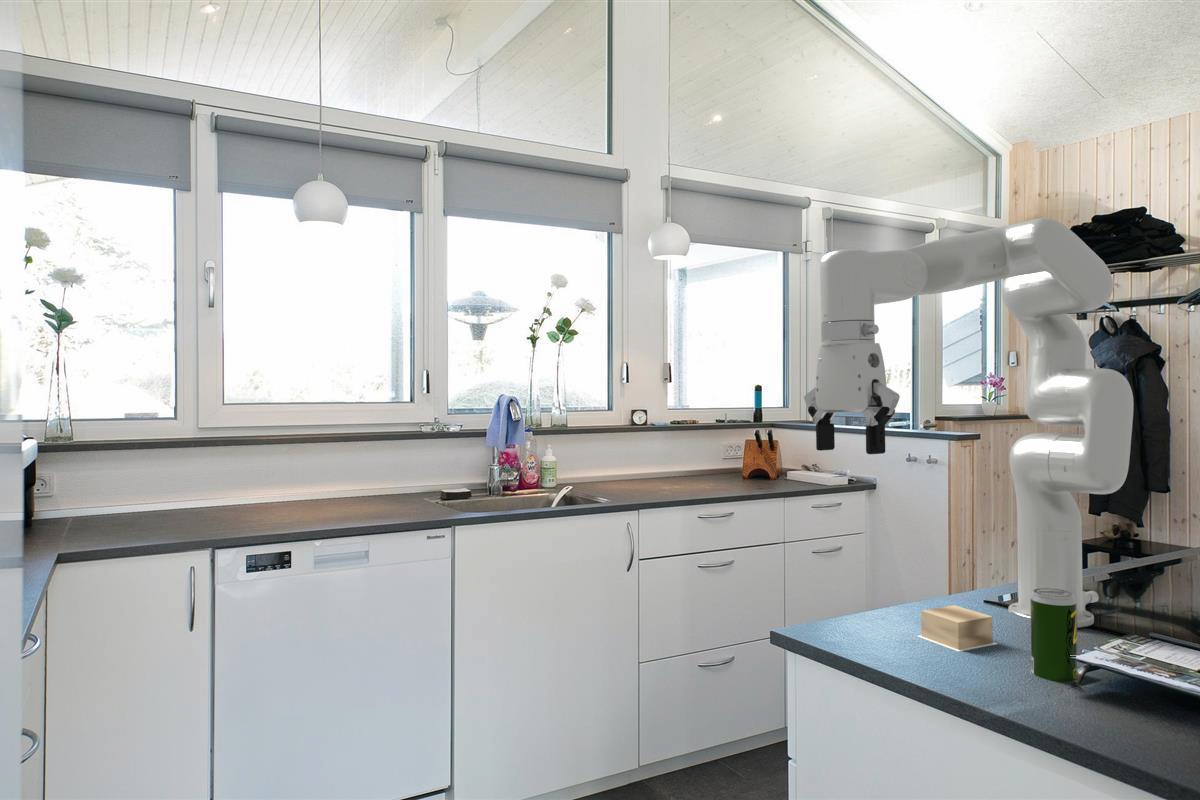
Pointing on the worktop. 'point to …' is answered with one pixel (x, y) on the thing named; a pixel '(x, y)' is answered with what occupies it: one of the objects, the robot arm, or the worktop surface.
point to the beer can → (1054, 634)
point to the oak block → (957, 627)
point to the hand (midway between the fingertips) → (849, 451)
